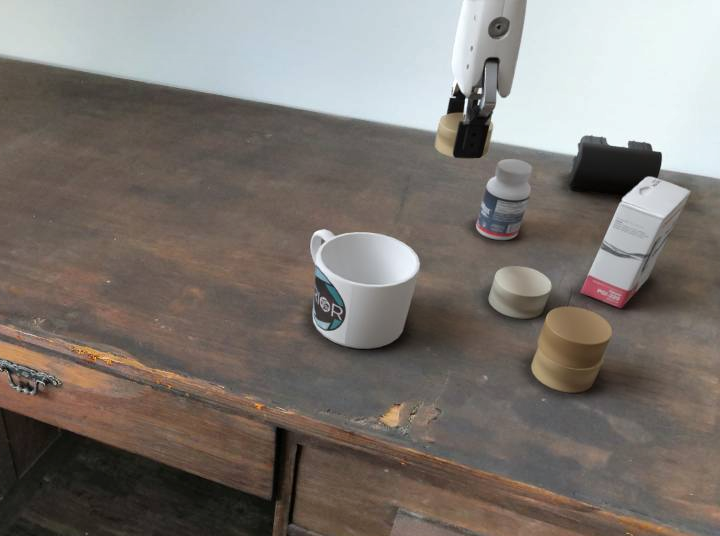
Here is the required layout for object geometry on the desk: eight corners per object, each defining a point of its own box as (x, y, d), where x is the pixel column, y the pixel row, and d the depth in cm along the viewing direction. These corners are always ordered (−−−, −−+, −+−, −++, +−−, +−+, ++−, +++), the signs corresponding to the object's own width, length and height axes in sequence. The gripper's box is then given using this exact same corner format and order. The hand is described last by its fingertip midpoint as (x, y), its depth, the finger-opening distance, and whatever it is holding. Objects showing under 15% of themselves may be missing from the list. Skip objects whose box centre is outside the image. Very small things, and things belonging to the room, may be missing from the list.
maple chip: (482, 137, 92) (488, 112, 90) (492, 159, 87) (498, 134, 85) (431, 136, 92) (435, 111, 90) (438, 158, 88) (443, 132, 86)
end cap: (566, 198, 106) (582, 151, 101) (564, 175, 111) (580, 129, 106) (645, 209, 104) (665, 162, 99) (639, 185, 109) (658, 139, 104)
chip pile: (583, 355, 80) (603, 307, 76) (601, 394, 76) (623, 346, 72) (522, 351, 81) (539, 304, 77) (536, 391, 76) (555, 343, 72)
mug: (427, 328, 83) (442, 265, 78) (355, 364, 79) (367, 299, 73) (342, 272, 92) (350, 211, 86) (272, 301, 87) (277, 239, 82)
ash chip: (536, 289, 89) (544, 267, 87) (549, 320, 85) (558, 297, 83) (483, 286, 90) (490, 264, 88) (494, 317, 85) (501, 294, 83)
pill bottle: (474, 218, 101) (491, 154, 96) (515, 222, 101) (535, 158, 95) (476, 238, 98) (494, 173, 92) (519, 243, 97) (540, 177, 91)
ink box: (623, 311, 86) (665, 216, 78) (578, 294, 89) (615, 200, 81) (650, 280, 91) (693, 187, 83) (608, 264, 93) (645, 172, 86)
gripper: (559, -3, 71) (510, 179, 83) (518, -48, 84) (481, 115, 96) (476, -4, 71) (439, 177, 83) (448, -49, 84) (419, 114, 96)
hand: (462, 142), depth 89 cm, fingers closed on maple chip, 6 cm apart
